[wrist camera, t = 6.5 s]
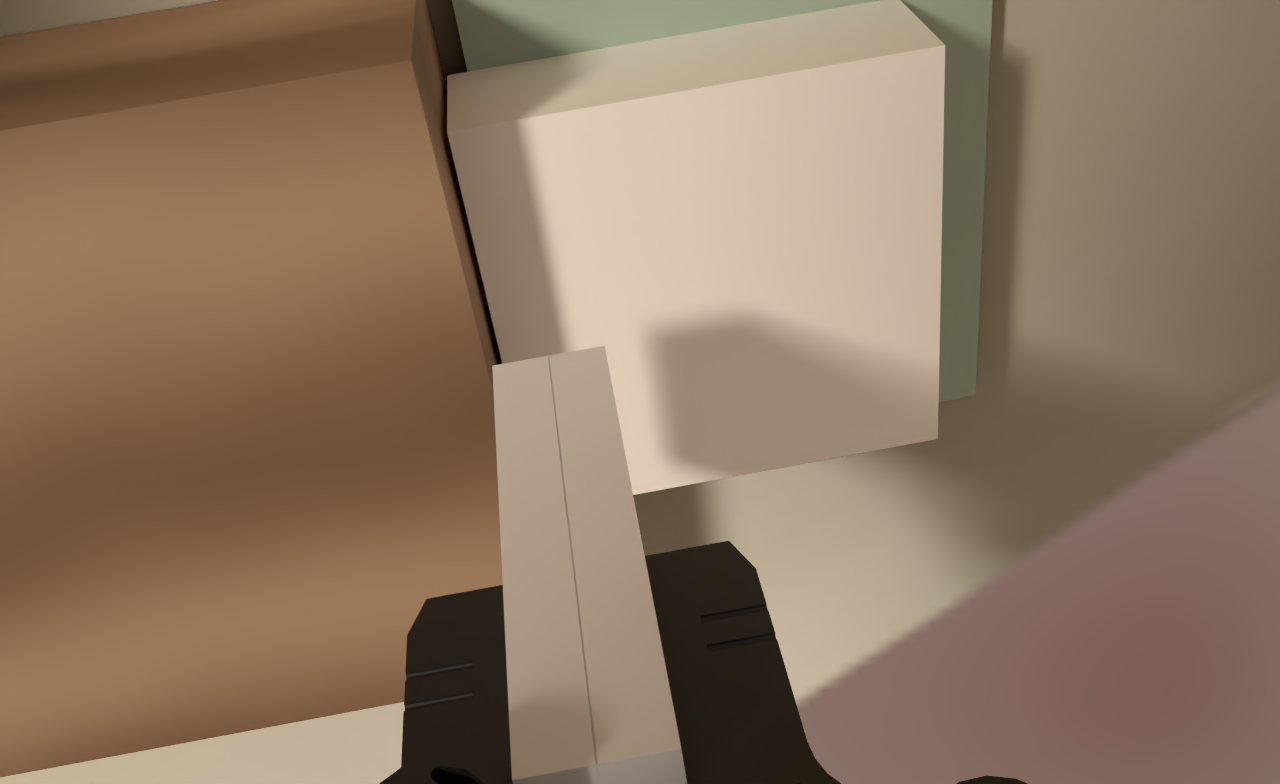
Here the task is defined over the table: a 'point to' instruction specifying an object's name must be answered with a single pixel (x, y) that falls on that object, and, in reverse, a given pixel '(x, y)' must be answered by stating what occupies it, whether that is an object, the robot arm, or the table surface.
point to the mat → (687, 3)
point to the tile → (723, 232)
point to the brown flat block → (231, 372)
